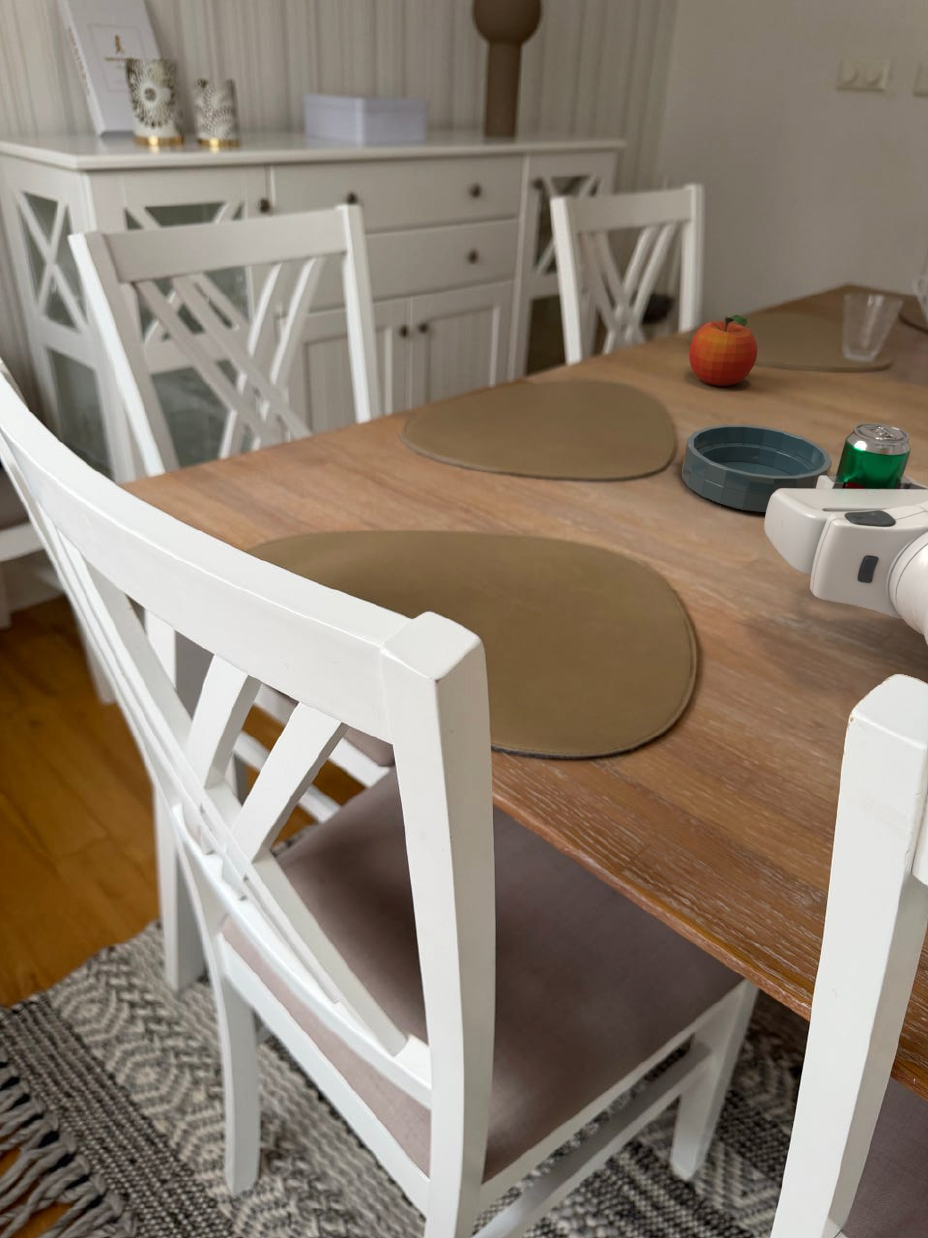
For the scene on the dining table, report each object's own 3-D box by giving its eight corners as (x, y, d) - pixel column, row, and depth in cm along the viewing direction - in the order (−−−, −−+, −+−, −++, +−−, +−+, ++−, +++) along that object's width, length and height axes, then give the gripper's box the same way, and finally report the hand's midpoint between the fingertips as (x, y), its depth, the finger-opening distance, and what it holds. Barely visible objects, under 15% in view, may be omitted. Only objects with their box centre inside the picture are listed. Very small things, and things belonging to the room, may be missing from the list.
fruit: (723, 368, 144) (736, 301, 139) (764, 388, 137) (779, 318, 131) (671, 374, 140) (682, 305, 135) (709, 395, 133) (723, 323, 128)
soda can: (856, 546, 86) (892, 419, 80) (886, 573, 82) (927, 442, 75) (804, 549, 85) (837, 421, 79) (832, 576, 81) (869, 444, 75)
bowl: (813, 469, 112) (823, 433, 109) (828, 525, 99) (839, 486, 96) (681, 454, 114) (688, 418, 112) (679, 507, 101) (686, 467, 99)
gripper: (1091, 523, 68) (990, 450, 79) (814, 522, 66) (752, 447, 78) (1059, 599, 71) (966, 517, 83) (794, 599, 70) (738, 516, 81)
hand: (860, 483), depth 80 cm, fingers closed on soda can, 5 cm apart
